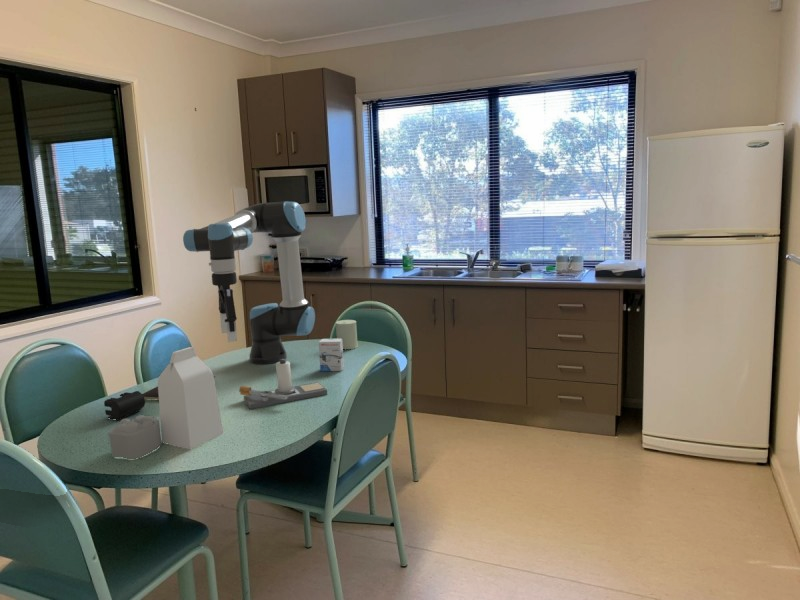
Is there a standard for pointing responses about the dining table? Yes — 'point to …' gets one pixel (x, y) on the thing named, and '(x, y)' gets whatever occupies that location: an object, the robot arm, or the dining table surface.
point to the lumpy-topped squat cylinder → (135, 437)
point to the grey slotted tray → (299, 393)
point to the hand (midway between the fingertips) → (229, 336)
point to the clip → (260, 393)
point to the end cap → (124, 405)
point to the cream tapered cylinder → (347, 333)
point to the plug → (284, 378)
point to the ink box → (331, 355)
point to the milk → (188, 401)
